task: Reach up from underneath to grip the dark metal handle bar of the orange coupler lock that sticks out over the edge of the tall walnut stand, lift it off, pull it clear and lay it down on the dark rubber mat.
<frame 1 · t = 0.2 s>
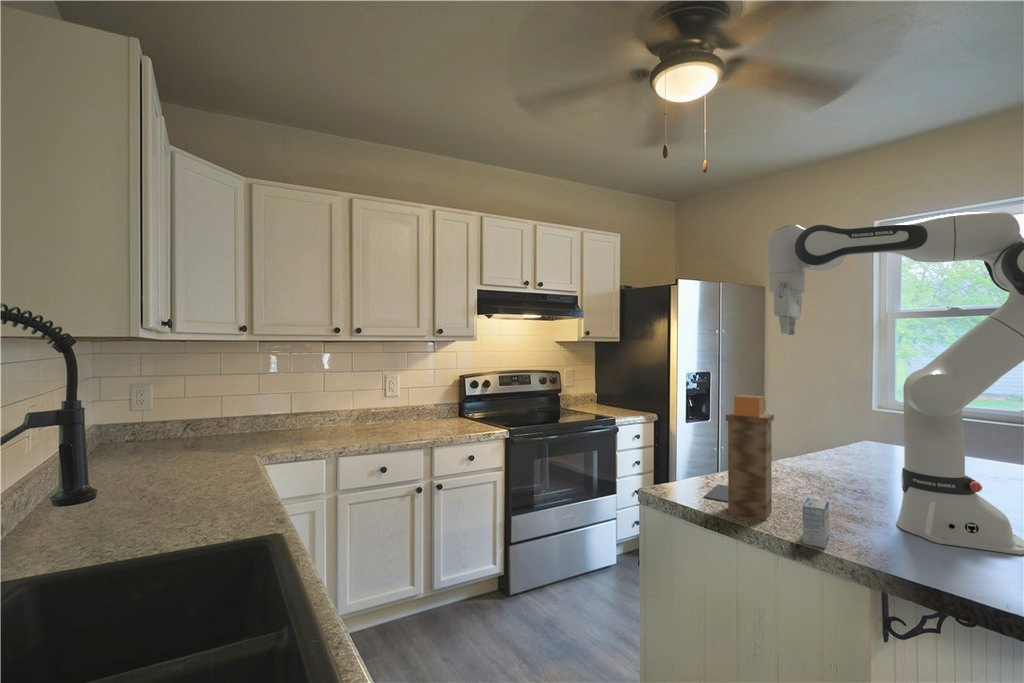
hand: (788, 334, 136), 48 cm above the counter, tool pointing down, fingers open, 8 cm apart
rubber mat: (726, 494, 146), on the counter
coupler lock: (749, 415, 130), point 26 cm above the counter, touching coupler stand
medicine box: (815, 542, 111), on the counter
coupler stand: (750, 512, 130), on the counter
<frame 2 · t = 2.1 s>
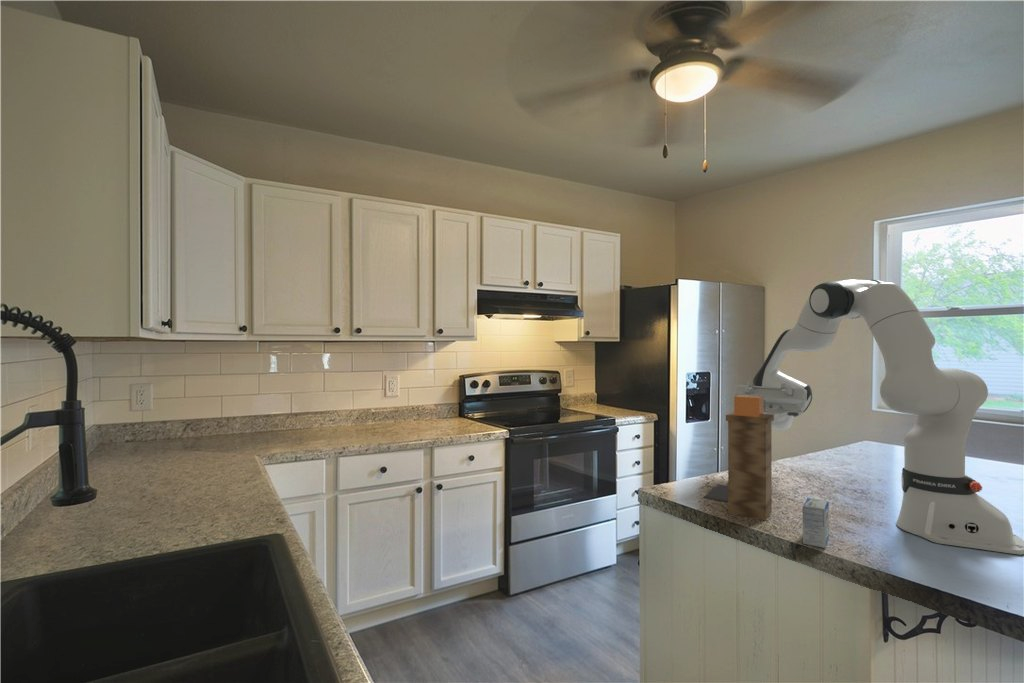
hand: (766, 384, 149), 33 cm above the counter, tool pointing upward, fingers open, 8 cm apart
nothing on the counter moved.
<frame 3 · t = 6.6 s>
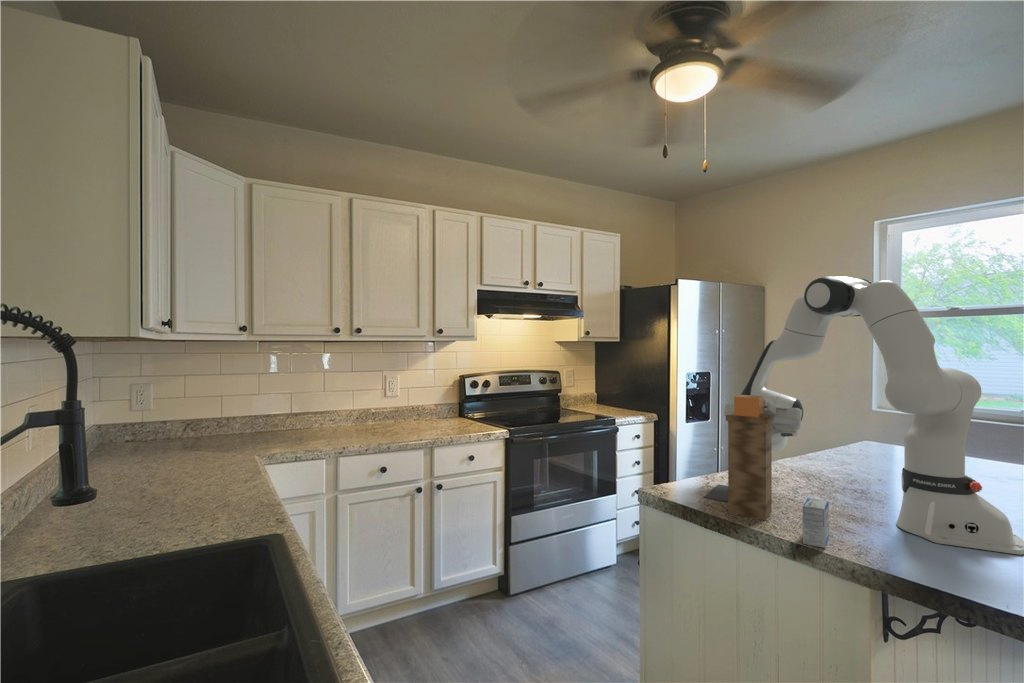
hand: (757, 403, 139), 28 cm above the counter, tool pointing upward, fingers closed on coupler lock, 3 cm apart
coupler lock: (749, 415, 130), point 26 cm above the counter, touching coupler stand, gripper
everything else where it was.
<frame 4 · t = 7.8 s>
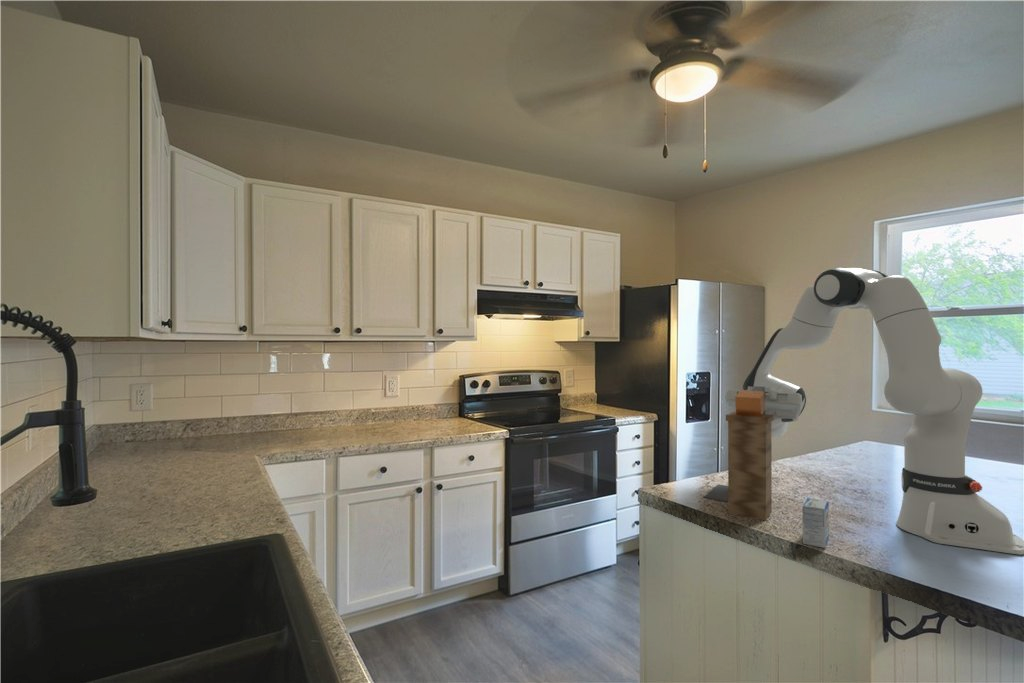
hand: (758, 389, 140), 32 cm above the counter, tool pointing upward, fingers closed on coupler lock, 3 cm apart
coupler lock: (750, 411, 131), point 27 cm above the counter, tilted 13°, touching gripper
everything else where it was.
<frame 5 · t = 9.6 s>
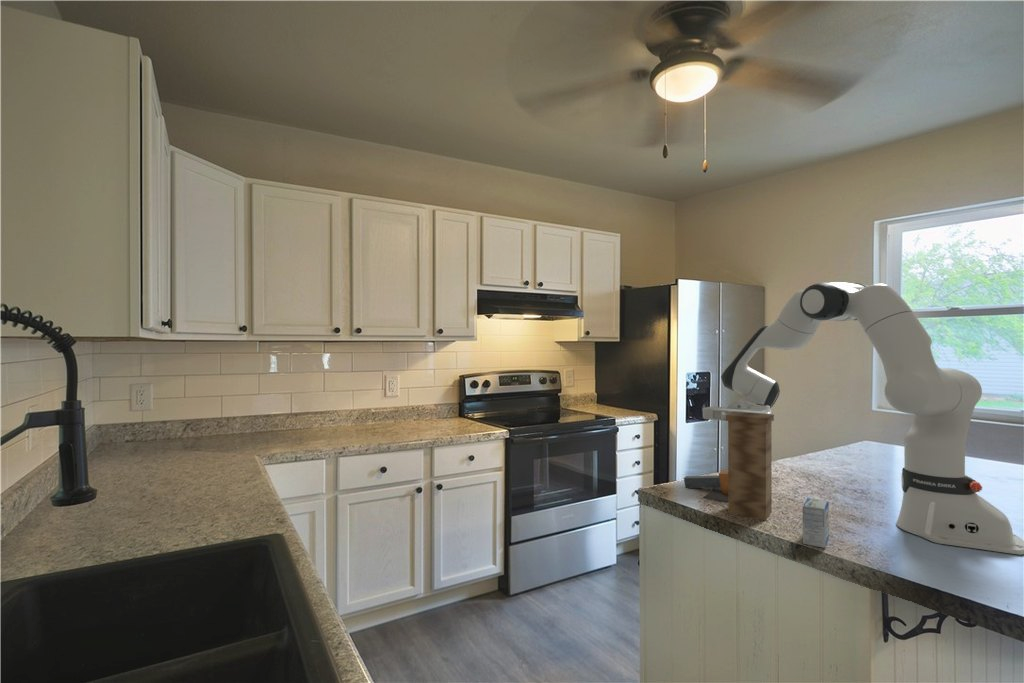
hand: (731, 418, 151), 22 cm above the counter, tool horizontal
coupler lock: (734, 480, 148), point 4 cm above the counter, tilted 90°, touching rubber mat
everything else where it was.
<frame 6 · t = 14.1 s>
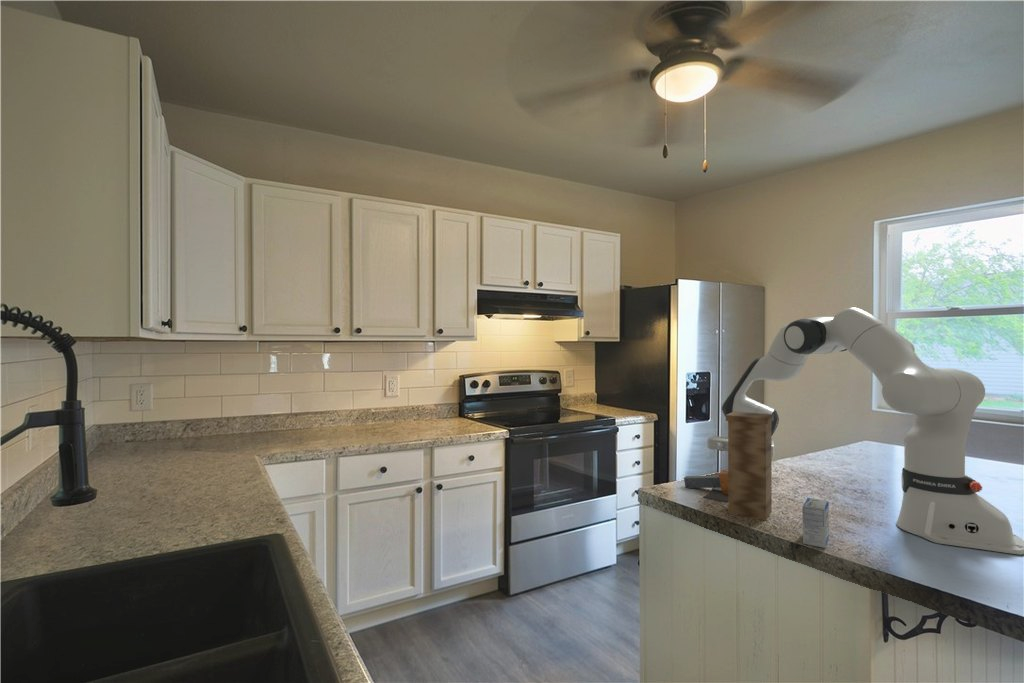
hand: (735, 450, 157), 11 cm above the counter, tool horizontal, fingers open, 8 cm apart
nothing on the counter moved.
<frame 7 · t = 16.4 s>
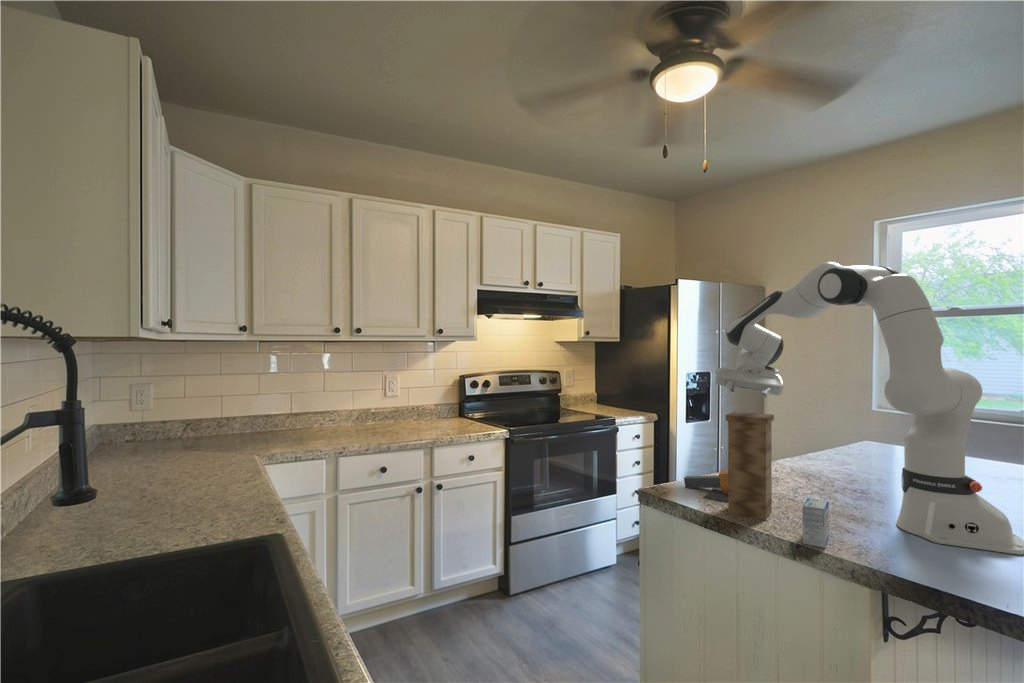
hand: (747, 392, 156), 29 cm above the counter, tool tilted 65°, fingers open, 8 cm apart
nothing on the counter moved.
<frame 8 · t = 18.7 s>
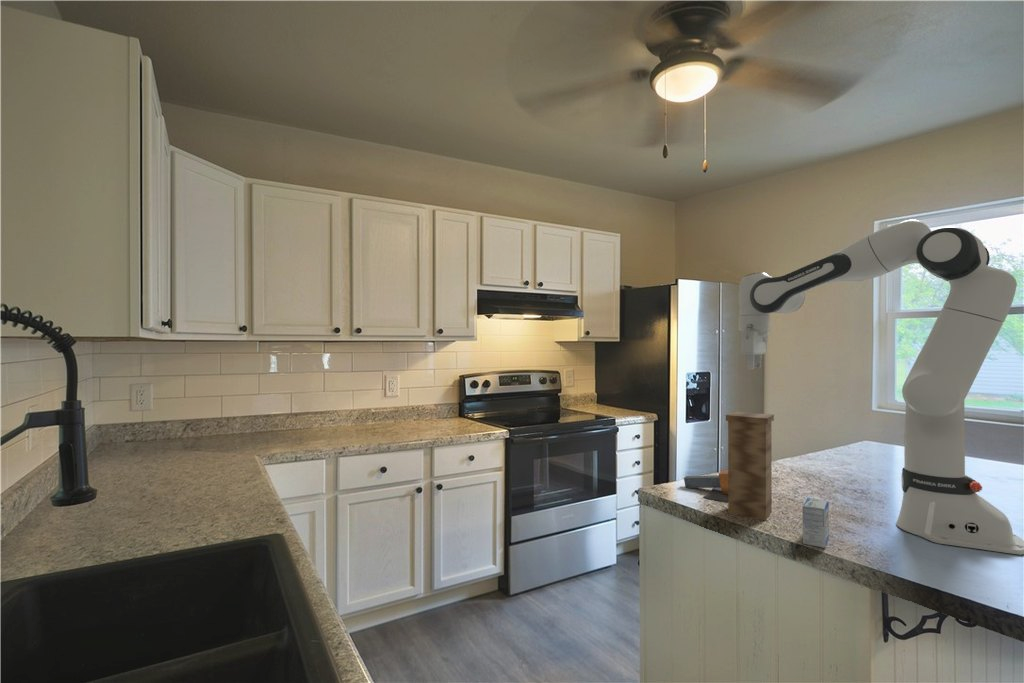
hand: (754, 369, 154), 37 cm above the counter, tool pointing down, fingers open, 8 cm apart
nothing on the counter moved.
at the end: the gripper is holding nothing; coupler lock point 3.9 cm above the counter; coupler lock 3.0 cm from the rubber mat (horizontally) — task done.
